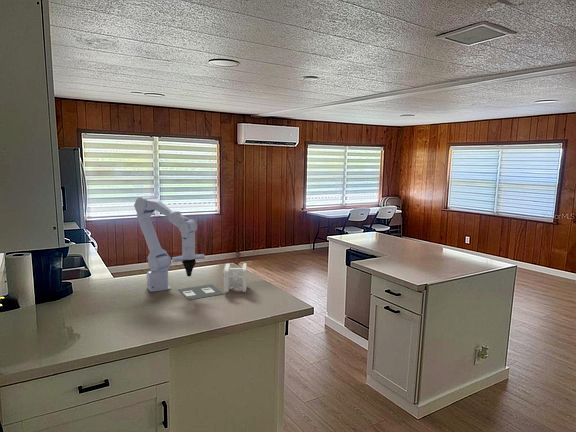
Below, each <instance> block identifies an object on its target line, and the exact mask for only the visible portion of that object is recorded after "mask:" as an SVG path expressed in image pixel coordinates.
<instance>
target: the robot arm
mask: <svg viewBox="0 0 576 432" xmlns="http://www.w3.org/2000/svg"><path fill="white" fill-rule="evenodd" d="M133 206H134V208H135V211H136V217H137V220H138V224H139V226H140V229H141V232H142V234H143V237H144V239H145V242H146V246H147V248H148V251H149V253H148V256H147V257H146V258H147V262H148V263H147V267H148V268H149V271H147V272H146V288H147V289H148V291H149V292H150V293H152V292H160V291H167V290H171V289H172V287H171V286H169V269H170V267H171V265H172V263H179V262H181V263H182V264H183V266H184V268H185V272H186V276H187V277H189V278H190V277H192V273H193V270H194V267H195V265H196V263H197V261H196V260H205V258H206V255H205V254H204V253H203V254H202V253H201V254H198V253H197V254H196V231H197V230H198V227H199V226H198V223H197V221H196V220H195V219H189V218H188V217H187V216H185V215H183V214H182V213H181V212H180V210H179V211H177V210H174V211H173V210H172V209H170V208H169V207H168V206H167V205H165V204H164V203H163V202H162V201H161V198H158V197H157V196H154V195H152V196H143V197H138V198H136V199H135V202H134V205H133ZM155 211H157V212H158V213H160V214H162V215H163V216H165V217H167V218H168V221H169V222H170V223H171V224H173V225H174V226H175V227H177V228H178V230H179V232H180V237H181V255H178V256H173V257H171V256H170V255H169V254H168V251H166V249H164V248H162V246H161V244H160V241H159V238H158V235H157V232H156V230H155V226H154V224H153V222H152V219H151V217H152V215H153V214H154V213H155Z"/></svg>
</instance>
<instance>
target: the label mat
mask: <svg viewBox="0 0 576 432" xmlns="http://www.w3.org/2000/svg"><path fill="white" fill-rule="evenodd" d="M177 291H178V292H179V293H180V294H181V295H183V297H184V298H185V299H186V300H187V301H191V300H198V299H203V298H208V297H214V296H215V297H216V296H222V295H225V293H224V291H222V290H220V289H219V288H218V287H216V286H215V285H214V284H213V283H212V284H210V283H209V284H204V285H199V286H198V285H196V286H192V287H191V286H190V287H186V288H185V287H184V288H178V289H177Z"/></svg>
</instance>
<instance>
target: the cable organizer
mask: <svg viewBox="0 0 576 432" xmlns="http://www.w3.org/2000/svg"><path fill="white" fill-rule="evenodd" d="M247 264H248V263H246V262H243V264H242V267H231V264H230V263H226V264H225V265H224V268H223V273H222V275H223V293H224V294H227V293H229V291H230V290H233V289H234V288H238V290H242V293H243V294H245V293H246V292H247V280H248V279H247V278H248V277H247V274H248V273H247V271H248V265H247ZM244 292H245V293H244Z"/></svg>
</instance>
